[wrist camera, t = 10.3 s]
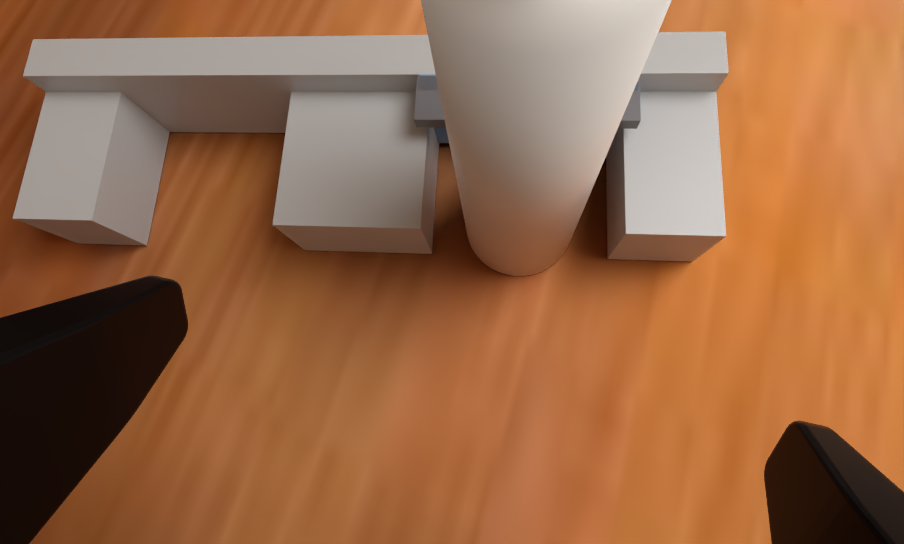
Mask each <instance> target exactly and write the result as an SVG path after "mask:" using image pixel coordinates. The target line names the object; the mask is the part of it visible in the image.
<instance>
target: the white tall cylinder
mask: <svg viewBox="0 0 904 544" xmlns="http://www.w3.org/2000/svg"><path fill="white" fill-rule="evenodd" d="M671 1H672V0H421V2H422V7H423V12H424V17H425V22H426V27H427V32H428V38H429V43H430V48H431V53H432V58H433V63H434V68H435V73H436V78H437V83H438V89H439V94H440V99H441V104H442V109H443V114H444V119H445V124H446V129H447V134H448V140H449V145H450V150H451V155H452V160H453V165H454V170H455V175H456V180H457V185H458V191H459V196H460V201H461V206H462V211H463V216H464V221H465V226H466V231H467V236H468V240H469V243H470V246H471V248H472V249H473V251H474V253H475V254H476V256H477V257H478V258H479V259H480V260H481V261H482V262H483V263H484V264H485V265H487V266H488V267H490V268H491V269H493V270H495V271H497V272H499V273H502V274H506V275H511V276H528V275H533V274H537V273H540V272H542V271H544V270H546V269H548V268H549V267H551V266H552V265H554V264H555V263H556V262H557V261H558V260H559V259H560V258H561V257H562V256H563V254H564V253H565V251H566V250H567V248H568V245H569V243H570V241H571V239H572V236H573V234H574V231H575V229H576V227H577V224H578V222H579V220H580V217H581V215H582V212H583V210H584V208H585V205H586V203H587V201H588V198H589V196H590V193H591V191H592V189H593V186H594V184H595V181H596V179H597V177H598V174H599V172H600V170H601V167H602V165H603V162H604V160H605V158H606V155H607V153H608V151H609V148H610V146H611V143H612V141H613V139H614V136H615V134H616V131H617V129H618V127H619V124H620V122H621V120H622V117H623V115H624V112H625V110H626V108H627V105H628V103H629V101H630V98H631V96H632V93H633V91H634V89H635V86H636V84H637V82H638V79H639V77H640V74H641V72H642V70H643V67H644V65H645V62H646V60H647V58H648V55H649V53H650V51H651V48H652V46H653V43H654V41H655V39H656V36H657V34H658V32H659V29H660V27H661V24H662V22H663V20H664V17H665V15H666V12H667V10H668V8H669V5H670V3H671Z"/></svg>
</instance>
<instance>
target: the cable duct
mask: <svg viewBox="0 0 904 544" xmlns="http://www.w3.org/2000/svg"><path fill="white" fill-rule="evenodd" d="M728 73H729V72H728V59H727V46H726V33H725V32H658V34H657V36H656V39H655V41H654V43H653V46H652V48H651V51H650V53H649V55H648V58H647V60H646V62H645V65H644V67H643V70H642V72H641V74H640V77H639V79H638V82H637V84H636V86H635V89H634V91H633V93H632V96H631V98H630V101H629V103H628V105H627V108H626V110H625V112H624V115H623V117H622V120H621V122H620V124H619V127H618V129H617V131H616V134H615V136H614V139H613V141H612V143H611V146H610V148H609V151H608V153H607V155H606V184H607V256H608V259H620V260H654V261H688V262H693V261H694V260H695V259H697V258H698V257H699V256H701V255H702V254H703V253H705V252H706V251H707V250H709V249H710V248H711V247H713V246H714V245H715V244H717V243H718V242H719V241H720V240H722V239H723V238H724V237H726V227H725V212H724V198H723V183H722V169H721V154H720V140H719V125H718V111H717V96H716V91H717V89H718V88H719V86H720V85H721V84H722V82H723V81H724V79H725V78H726V76H727V75H728ZM23 76H24V77H25V78H27V79H28V80H30V81H31V82H32V83H34V84H35V85H37V86H38V87H40V88H41V89H43V90H44V91H45V92H46V94H45V98H44V102H43V105H42V109H41V113H40V117H39V120H38V124H37V128H36V132H35V136H34V139H33V143H32V147H31V151H30V155H29V158H28V162H27V166H26V170H25V173H24V177H23V181H22V185H21V189H20V192H19V196H18V200H17V204H16V208H15V211H14V215H13V219H15V220H18V221H20V222H23V223H26V224H28V225H31V226H33V227H36V228H39V229H41V230H44V231H46V232H49V233H52V234H54V235H57V236H59V237H62V238H65V239H67V240H70V241H72V242H75V243H78V244H111V245H145V246H147V243H148V238H149V233H150V228H151V223H152V218H153V213H154V208H155V203H156V198H157V193H158V188H159V183H160V178H161V173H162V168H163V163H164V158H165V153H166V148H167V143H168V138H169V133H170V132H230V133H285V140H284V147H283V154H282V161H281V168H280V175H279V182H278V189H277V196H276V203H275V210H274V217H273V224H272V225H273V226H274V227H276V228H277V229H278V230H279V231H281V232H282V233H283V234H284V235H286V236H287V237H288V238H289V239H291V240H292V241H293V242H295V243H296V244H297V245H298V246H300V247H301V248H302V249H303V250H315V251H349V252H383V253H416V254H432V245H433V230H434V215H435V200H436V186H437V171H438V156H439V143H449V140H448V134H447V129H446V124H445V119H444V114H443V109H442V104H441V99H440V94H439V89H438V83H437V78H436V73H435V68H434V63H433V58H432V53H431V48H430V43H429V38H428V35H379V36H291V37H203V38H115V39H33V42H32V46H31V49H30V53H29V56H28V60H27V64H26V67H25V71H24V74H23Z"/></svg>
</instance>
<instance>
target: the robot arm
mask: <svg viewBox="0 0 904 544" xmlns="http://www.w3.org/2000/svg"><path fill="white" fill-rule="evenodd" d="M187 329H188V319H187V314H186V309H185V304H184V299H183V294H182V289H181V287H180V285H179V284H178V282H176V281H174V280H171V279H167V278H162V277H158V276H146V277H143V278H139V279H136V280H132V281H129V282H125V283H122V284H118V285H115V286H111V287H108V288H104V289H101V290H97V291H94V292H90V293H86V294H83V295H79V296H76V297H72V298H69V299H65V300H62V301H58V302H55V303H51V304H48V305H44V306H41V307H37V308H34V309H30V310H27V311H23V312H19V313H16V314H12V315H9V316H5V317H2V318H0V544H30V542H31V541H32V540H33V539H34V537H35V536H36V535H37V534H38V532H39V531H40V530H41V529H42V528H43V526H44V525H45V524H46V523H47V521H48V520H49V519H50V518H51V516H52V515H53V514H54V513H55V512H56V510H57V509H58V508H59V507H60V505H61V504H62V503H63V502H64V501H65V499H66V498H67V497H68V496H69V494H70V493H71V492H72V491H73V489H74V488H75V487H76V486H77V485H78V483H79V482H80V481H81V480H82V478H83V477H84V476H85V475H86V473H87V472H88V471H89V470H90V469H91V467H92V466H93V465H94V464H95V462H96V461H97V460H98V459H99V457H100V456H101V455H102V454H103V453H104V451H105V450H106V449H107V448H108V446H109V445H110V444H111V443H112V442H113V440H114V439H115V438H116V437H117V435H118V434H119V433H120V432H121V430H122V429H123V428H124V427H125V425H126V424H127V423H128V421H129V420H130V419H131V417H132V416H133V415H134V413H135V412H136V410H137V409H138V407H139V406H140V405H141V403H142V402H143V400H144V399H145V397H146V396H147V394H148V393H149V391H150V390H151V388H152V387H153V385H154V383H155V382H156V380H157V379H158V377H159V376H160V374H161V373H162V371H163V370H164V368H165V367H166V365H167V364H168V362H169V361H170V359H171V358H172V356H173V355H174V353H175V352H176V350H177V349H178V347H179V346H180V344H181V343H182V341H183V340H184V338H185V336H186V333H187ZM764 480H765V489H766V497H767V506H768V515H769V523H770V532H771V541H772V544H904V492H903V491H902V490H901V489H900V488H898V487H897V486H896V485H895V484H894V483H893V482H892V481H890V480H889V479H888V478H887V477H886V476H885V475H884V474H882V473H881V472H880V471H879V470H878V469H877V468H876V467H874V466H873V465H872V464H871V463H870V462H869V461H868V460H866V459H865V458H864V457H863V456H862V455H861V454H860V453H858V452H857V451H856V450H855V449H854V448H853V447H852V446H850V445H849V444H848V443H847V442H846V441H845V440H844V439H842V438H841V437H840V436H839V435H838V434H837V433H836V432H834V431H833V430H832V429H830V428H828V427H825V426H822V425H817V424H813V423H808V422H804V421H795V422H792V423H791V424H790V425H789V426H788V427H787V428H786V430H785V432H784V433H783V435H782V437H781V438H780V440H779V442H778V443H777V445H776V446H775V448H774V450H773V451H772V453H771V455H770V456H769V458H768V460H767V462H766V465H765V471H764Z"/></svg>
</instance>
